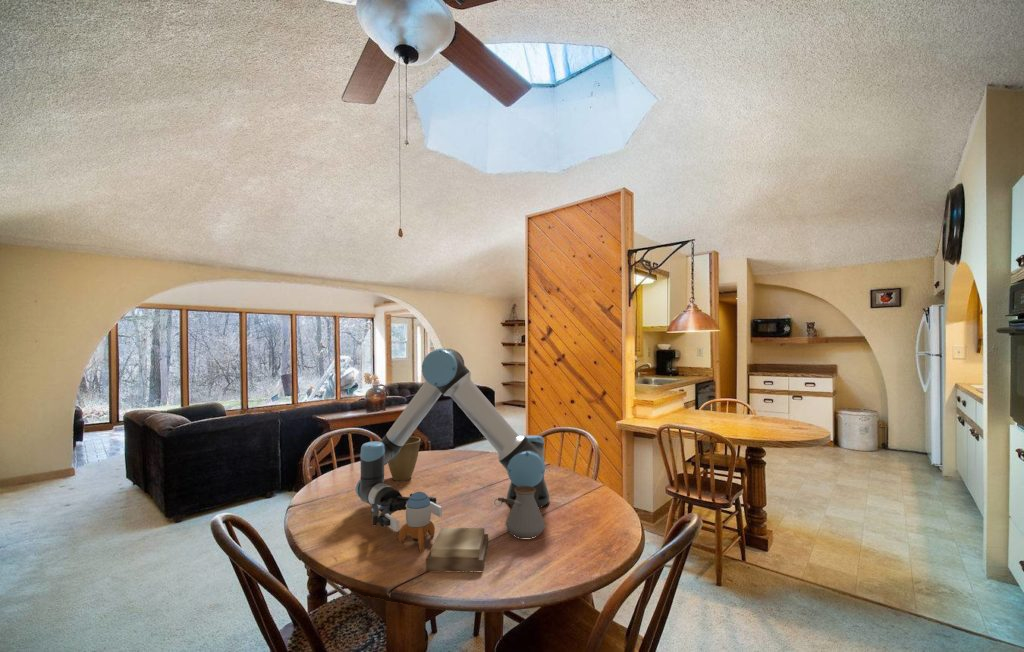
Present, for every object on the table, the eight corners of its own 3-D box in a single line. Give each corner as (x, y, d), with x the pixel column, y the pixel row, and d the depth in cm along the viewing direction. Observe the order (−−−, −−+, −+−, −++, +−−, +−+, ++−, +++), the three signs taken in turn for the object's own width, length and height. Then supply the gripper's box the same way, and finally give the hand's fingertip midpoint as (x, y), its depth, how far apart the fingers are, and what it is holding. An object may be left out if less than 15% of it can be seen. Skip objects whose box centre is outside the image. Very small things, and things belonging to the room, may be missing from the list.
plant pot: (377, 483, 169) (377, 443, 170) (393, 472, 184) (393, 435, 185) (412, 484, 167) (412, 444, 168) (425, 473, 181) (425, 436, 182)
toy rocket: (429, 556, 112) (417, 503, 111) (393, 560, 114) (381, 507, 113) (442, 534, 122) (431, 485, 121) (409, 537, 124) (398, 489, 123)
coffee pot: (518, 522, 131) (517, 473, 131) (551, 530, 125) (550, 479, 125) (479, 551, 112) (479, 495, 113) (516, 562, 106) (516, 502, 107)
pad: (488, 545, 116) (488, 526, 116) (482, 572, 102) (482, 551, 102) (438, 544, 116) (438, 526, 117) (426, 571, 102) (426, 550, 103)
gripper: (420, 500, 140) (457, 519, 124) (345, 522, 123) (376, 547, 107) (420, 477, 140) (456, 494, 124) (345, 496, 123) (377, 517, 108)
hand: (420, 518), depth 116 cm, fingers open, 13 cm apart
